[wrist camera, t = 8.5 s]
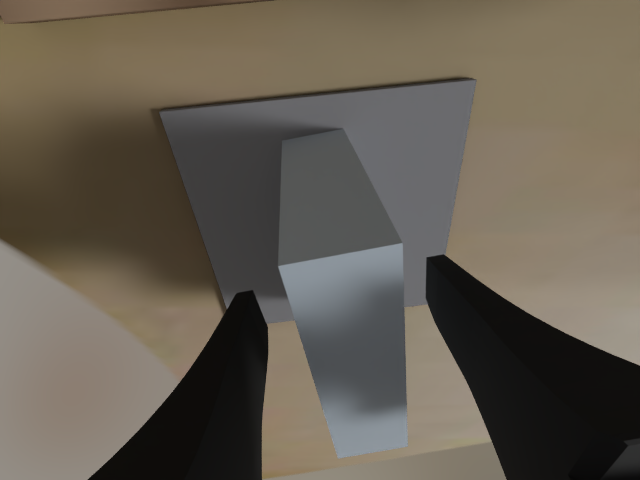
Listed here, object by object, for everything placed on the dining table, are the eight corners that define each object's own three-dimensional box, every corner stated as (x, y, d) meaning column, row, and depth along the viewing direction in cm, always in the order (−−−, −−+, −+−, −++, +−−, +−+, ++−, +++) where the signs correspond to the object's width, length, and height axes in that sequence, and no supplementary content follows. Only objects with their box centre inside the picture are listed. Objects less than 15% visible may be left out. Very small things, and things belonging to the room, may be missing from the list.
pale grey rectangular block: (343, 128, 13) (402, 243, 6) (363, 290, 18) (407, 446, 12) (282, 140, 13) (278, 266, 6) (319, 298, 18) (338, 458, 12)
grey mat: (471, 78, 13) (476, 79, 12) (434, 298, 20) (436, 303, 19) (162, 109, 12) (158, 112, 12) (234, 322, 19) (233, 327, 19)
